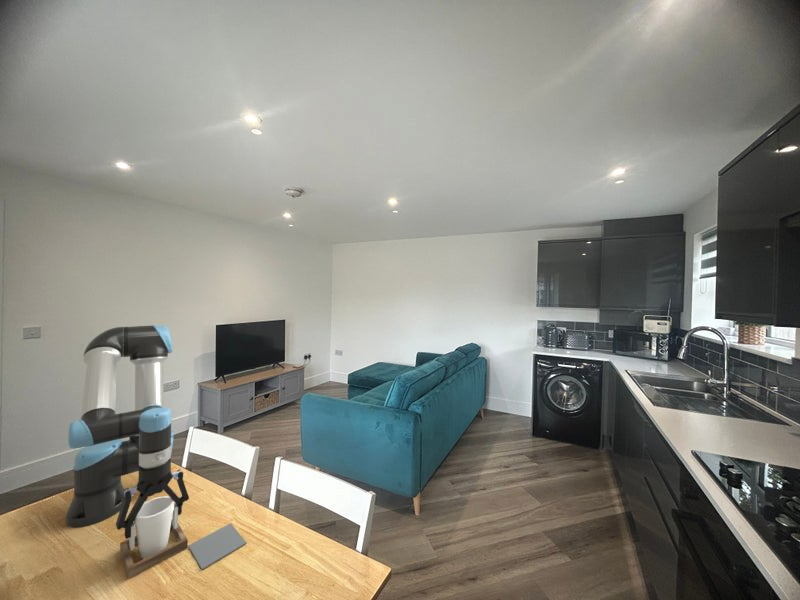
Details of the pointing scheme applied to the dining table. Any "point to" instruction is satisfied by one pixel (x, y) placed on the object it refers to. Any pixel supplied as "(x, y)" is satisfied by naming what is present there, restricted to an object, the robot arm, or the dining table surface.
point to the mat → (216, 546)
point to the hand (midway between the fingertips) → (154, 535)
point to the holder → (155, 558)
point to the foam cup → (154, 525)
